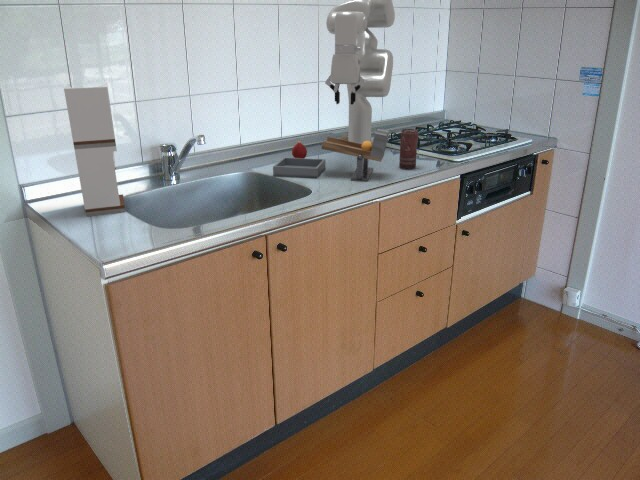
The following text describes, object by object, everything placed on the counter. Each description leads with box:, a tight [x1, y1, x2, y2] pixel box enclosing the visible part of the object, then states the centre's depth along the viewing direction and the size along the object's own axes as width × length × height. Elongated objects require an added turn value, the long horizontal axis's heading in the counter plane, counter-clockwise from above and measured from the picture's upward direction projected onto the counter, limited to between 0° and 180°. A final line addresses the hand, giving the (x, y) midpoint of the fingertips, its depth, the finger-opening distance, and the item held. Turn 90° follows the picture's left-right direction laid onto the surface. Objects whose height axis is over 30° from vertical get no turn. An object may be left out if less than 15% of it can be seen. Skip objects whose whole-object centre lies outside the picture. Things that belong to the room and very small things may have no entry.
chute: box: [321, 128, 390, 162], centre depth 194 cm, size 17×21×9 cm
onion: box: [291, 140, 308, 158], centre depth 213 cm, size 6×6×8 cm
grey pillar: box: [63, 82, 126, 217], centre depth 155 cm, size 11×11×35 cm
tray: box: [272, 157, 327, 179], centre depth 198 cm, size 14×16×4 cm
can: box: [398, 128, 419, 171], centre depth 201 cm, size 6×6×14 cm
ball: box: [361, 141, 373, 151], centre depth 190 cm, size 4×4×4 cm
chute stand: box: [350, 154, 375, 182], centre depth 193 cm, size 15×6×9 cm, turn 168°
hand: (345, 103), depth 197 cm, fingers open, 4 cm apart
